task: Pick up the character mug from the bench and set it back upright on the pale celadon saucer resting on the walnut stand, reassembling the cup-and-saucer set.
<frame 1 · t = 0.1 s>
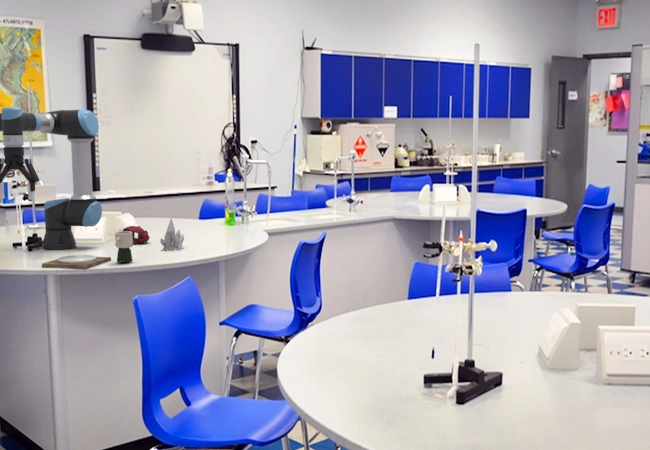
hand: (16, 199, 302), 28 cm above the countertop, fingers open, 13 cm apart
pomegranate: (134, 243, 369), on the countertop
stand: (77, 263, 313), on the countertop
crystal: (173, 249, 351), on the countertop
character mug: (124, 263, 316), on the countertop
saucer: (77, 259, 313), on the stand, point 2 cm above the countertop
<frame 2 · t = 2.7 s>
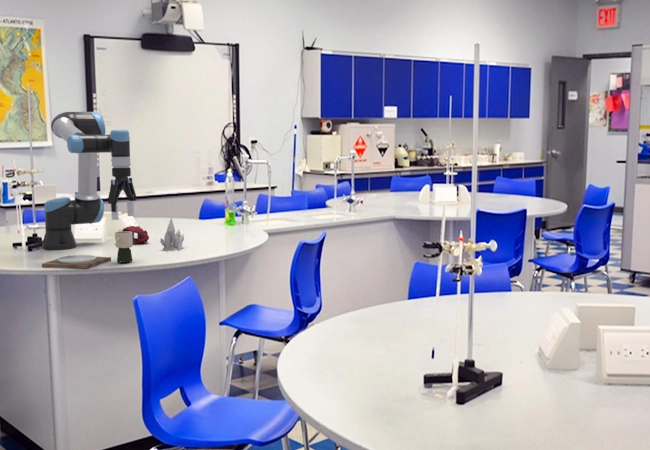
hand: (123, 217, 313), 19 cm above the countertop, fingers open, 13 cm apart
nothing on the countertop moved.
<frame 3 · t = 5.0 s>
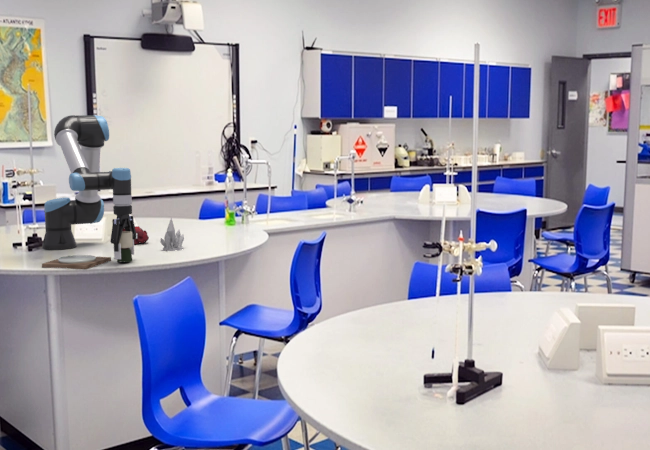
hand: (124, 256, 315), 3 cm above the countertop, fingers closed on character mug, 11 cm apart
character mug: (124, 263, 316), on the countertop, touching gripper
everything else where it was.
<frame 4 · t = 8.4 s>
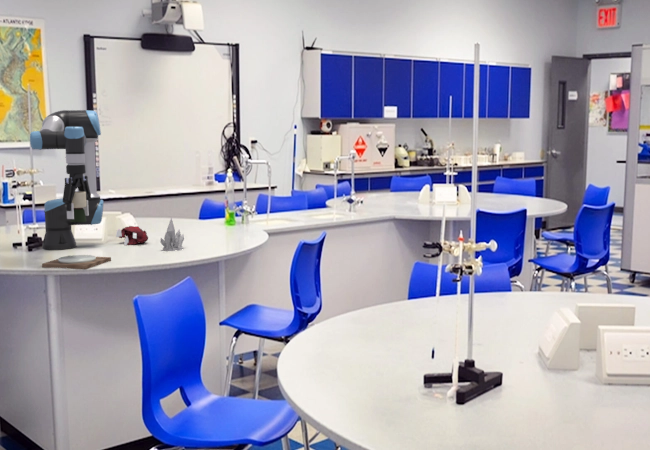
hand: (78, 217, 311), 20 cm above the countertop, fingers closed on character mug, 11 cm apart
character mug: (78, 223, 311), point 17 cm above the countertop, touching gripper
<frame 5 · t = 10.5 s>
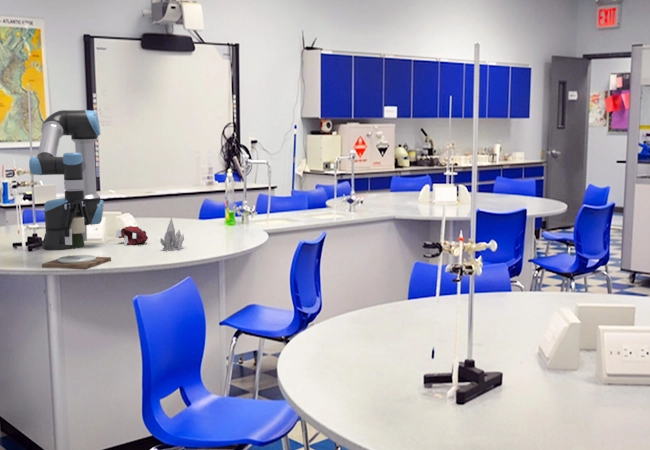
hand: (76, 242, 312), 9 cm above the countertop, fingers closed on character mug, 11 cm apart
character mug: (76, 249, 312), point 6 cm above the countertop, touching gripper
when the fingers open (6 cm above the countertop, at t = 12.2 s): character mug stays where it is, resting on saucer.
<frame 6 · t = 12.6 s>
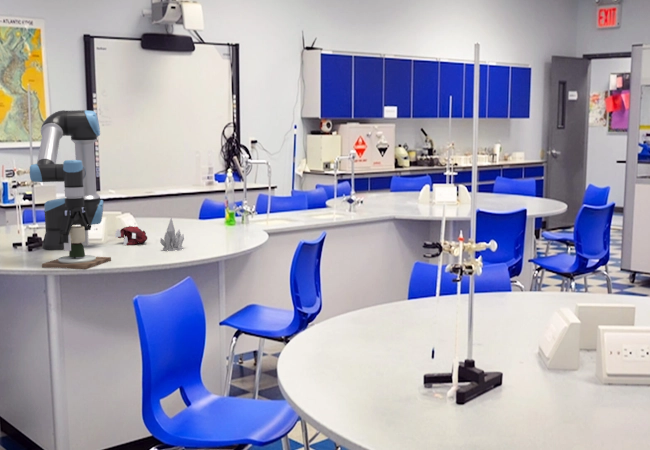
hand: (76, 248, 312), 7 cm above the countertop, fingers open, 13 cm apart
character mug: (77, 258, 313), point 2 cm above the countertop, touching saucer
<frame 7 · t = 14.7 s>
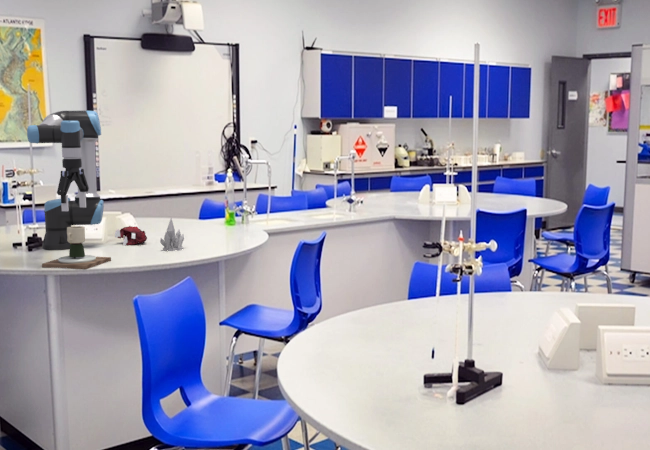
hand: (74, 209, 311), 23 cm above the countertop, fingers open, 13 cm apart
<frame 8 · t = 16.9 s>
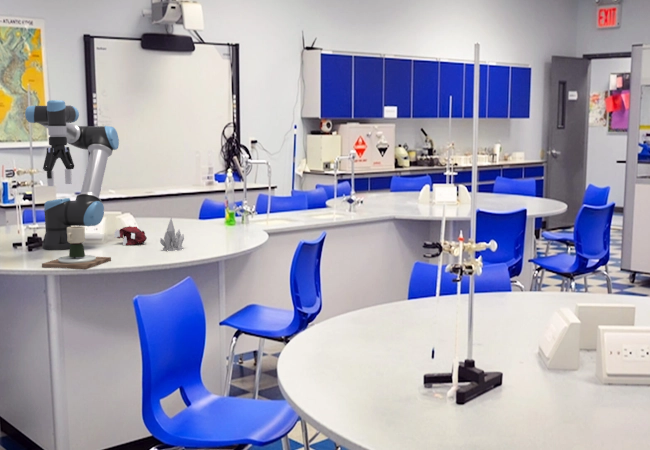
hand: (60, 185, 327), 32 cm above the countertop, fingers open, 13 cm apart
at the end: character mug inside the target area on the saucer (0.0 cm from its centre), point 2.3 cm above the saucer's base; character mug tilted 0°; the gripper is holding nothing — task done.
